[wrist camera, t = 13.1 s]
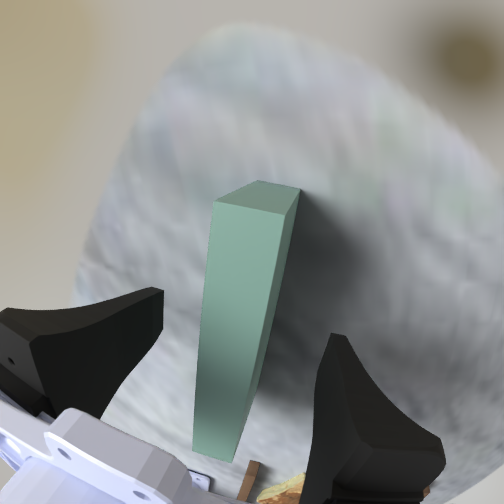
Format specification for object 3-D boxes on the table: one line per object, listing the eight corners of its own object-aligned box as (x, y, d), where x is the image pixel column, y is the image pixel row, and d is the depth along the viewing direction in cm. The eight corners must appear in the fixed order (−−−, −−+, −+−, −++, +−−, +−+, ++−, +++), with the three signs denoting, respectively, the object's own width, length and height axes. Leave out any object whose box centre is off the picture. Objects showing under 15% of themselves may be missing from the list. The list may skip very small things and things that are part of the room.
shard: (386, 498, 21) (387, 512, 19) (330, 519, 23) (329, 532, 22) (307, 465, 20) (304, 482, 19) (252, 489, 23) (248, 504, 22)
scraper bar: (257, 386, 18) (231, 463, 12) (226, 378, 18) (192, 451, 13) (300, 188, 14) (285, 215, 8) (257, 180, 14) (213, 200, 9)
